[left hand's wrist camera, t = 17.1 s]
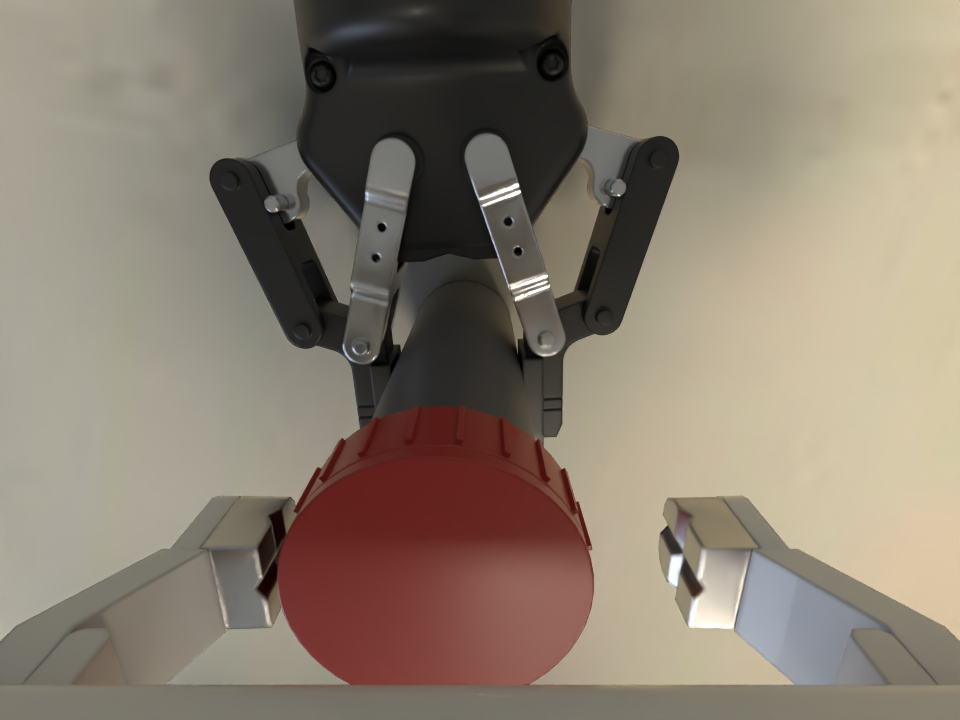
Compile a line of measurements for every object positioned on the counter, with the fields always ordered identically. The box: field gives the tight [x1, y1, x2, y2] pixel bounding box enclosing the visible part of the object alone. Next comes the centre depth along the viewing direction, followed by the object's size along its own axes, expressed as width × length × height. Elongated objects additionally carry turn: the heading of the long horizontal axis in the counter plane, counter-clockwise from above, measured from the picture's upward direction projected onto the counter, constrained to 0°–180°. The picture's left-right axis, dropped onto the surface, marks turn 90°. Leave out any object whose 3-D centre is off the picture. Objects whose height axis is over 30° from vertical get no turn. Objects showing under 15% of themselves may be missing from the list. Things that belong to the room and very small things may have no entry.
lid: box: [277, 405, 594, 685], centre depth 10 cm, size 6×6×2 cm
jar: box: [370, 281, 535, 439], centre depth 17 cm, size 4×4×15 cm
